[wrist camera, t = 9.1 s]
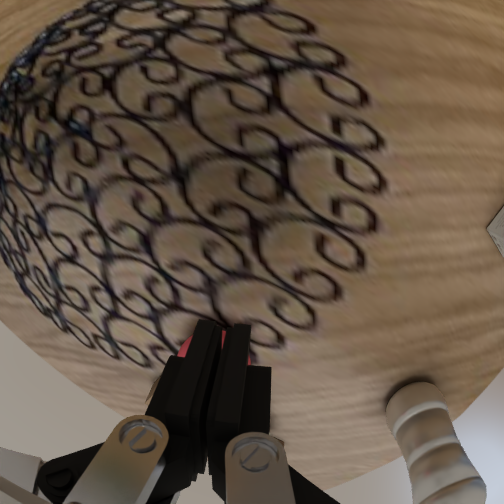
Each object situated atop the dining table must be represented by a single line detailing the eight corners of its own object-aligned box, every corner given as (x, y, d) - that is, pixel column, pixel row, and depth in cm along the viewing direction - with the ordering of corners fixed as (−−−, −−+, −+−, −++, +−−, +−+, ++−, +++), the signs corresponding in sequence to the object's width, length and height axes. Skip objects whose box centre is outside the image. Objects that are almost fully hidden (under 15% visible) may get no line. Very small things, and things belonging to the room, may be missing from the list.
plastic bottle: (421, 414, 30) (473, 554, 11) (371, 416, 30) (410, 576, 11) (445, 373, 28) (521, 521, 9) (393, 373, 28) (458, 550, 9)
